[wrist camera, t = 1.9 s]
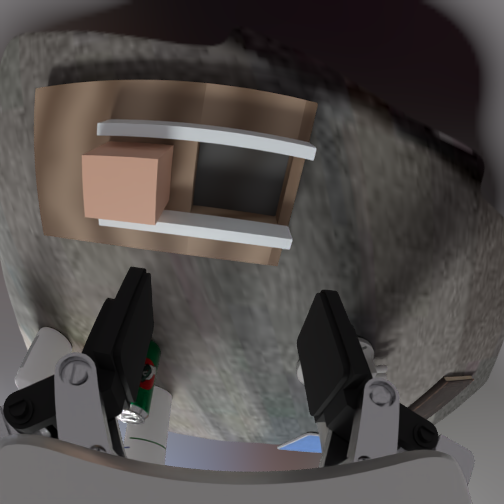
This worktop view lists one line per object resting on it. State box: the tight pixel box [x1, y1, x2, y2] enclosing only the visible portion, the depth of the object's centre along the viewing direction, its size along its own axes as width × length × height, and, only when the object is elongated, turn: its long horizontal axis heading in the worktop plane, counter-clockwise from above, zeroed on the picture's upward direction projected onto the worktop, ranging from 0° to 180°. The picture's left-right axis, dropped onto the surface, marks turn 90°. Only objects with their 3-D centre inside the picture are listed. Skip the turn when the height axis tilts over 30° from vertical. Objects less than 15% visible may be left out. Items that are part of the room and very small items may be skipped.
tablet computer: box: [277, 433, 322, 453], centre depth 63 cm, size 19×13×1 cm, turn 54°
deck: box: [34, 80, 318, 266], centre depth 24 cm, size 26×16×2 cm, turn 80°
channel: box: [97, 119, 316, 249], centre depth 22 cm, size 17×9×2 cm, turn 80°
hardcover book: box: [408, 376, 474, 420], centre depth 57 cm, size 16×23×2 cm
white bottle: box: [15, 327, 72, 390], centre depth 30 cm, size 7×7×18 cm
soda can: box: [117, 340, 161, 425], centre depth 33 cm, size 5×5×12 cm
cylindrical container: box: [124, 386, 172, 465], centre depth 35 cm, size 7×7×25 cm
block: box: [82, 141, 174, 225], centre depth 21 cm, size 6×5×5 cm
